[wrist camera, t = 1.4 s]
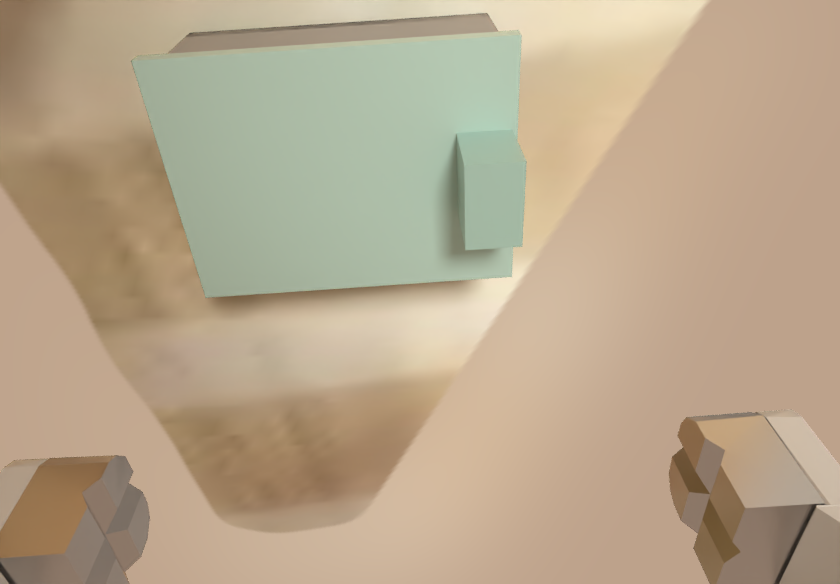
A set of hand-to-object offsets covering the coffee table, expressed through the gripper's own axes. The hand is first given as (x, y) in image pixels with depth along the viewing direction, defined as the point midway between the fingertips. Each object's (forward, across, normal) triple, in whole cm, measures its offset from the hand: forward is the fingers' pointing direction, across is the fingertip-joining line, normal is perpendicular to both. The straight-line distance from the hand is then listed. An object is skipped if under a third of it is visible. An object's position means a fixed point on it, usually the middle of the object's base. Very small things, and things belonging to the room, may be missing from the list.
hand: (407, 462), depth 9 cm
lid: (+22, +3, +4) cm, 22 cm away
